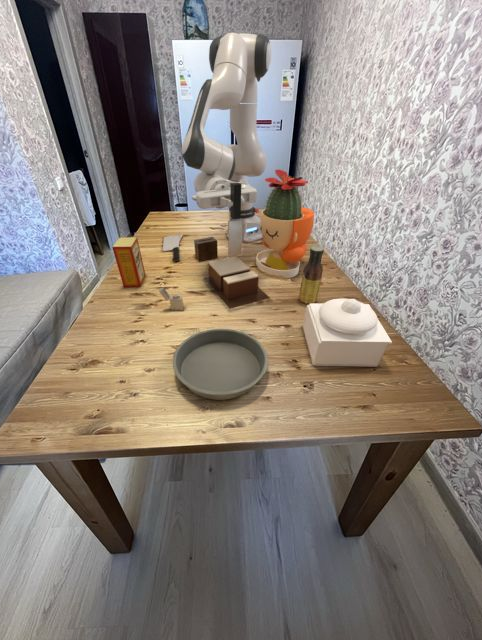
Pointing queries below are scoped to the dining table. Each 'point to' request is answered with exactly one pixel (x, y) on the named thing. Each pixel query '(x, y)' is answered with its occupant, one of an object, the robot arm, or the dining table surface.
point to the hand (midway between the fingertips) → (237, 203)
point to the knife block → (206, 249)
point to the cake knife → (235, 222)
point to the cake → (225, 269)
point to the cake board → (238, 300)
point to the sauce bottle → (312, 276)
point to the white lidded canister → (344, 334)
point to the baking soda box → (129, 261)
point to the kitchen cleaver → (172, 245)
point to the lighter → (173, 300)
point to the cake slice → (240, 284)
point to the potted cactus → (284, 227)
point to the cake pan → (220, 363)
